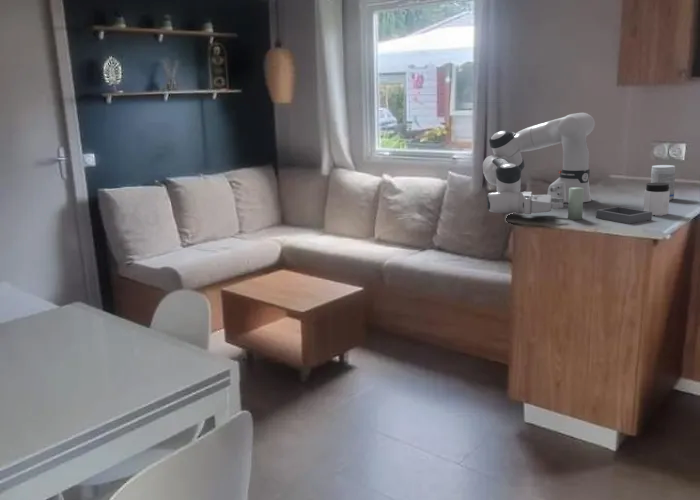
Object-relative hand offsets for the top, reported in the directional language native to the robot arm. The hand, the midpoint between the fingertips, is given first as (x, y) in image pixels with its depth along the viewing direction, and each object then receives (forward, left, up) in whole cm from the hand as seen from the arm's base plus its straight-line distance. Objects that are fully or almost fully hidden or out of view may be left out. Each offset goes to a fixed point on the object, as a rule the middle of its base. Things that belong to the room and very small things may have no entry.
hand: (563, 203), depth 257 cm
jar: (+16, +33, -6) cm, 38 cm away
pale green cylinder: (+3, +3, -6) cm, 8 cm away
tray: (+15, +16, -6) cm, 23 cm away
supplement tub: (-5, +63, -6) cm, 64 cm away
